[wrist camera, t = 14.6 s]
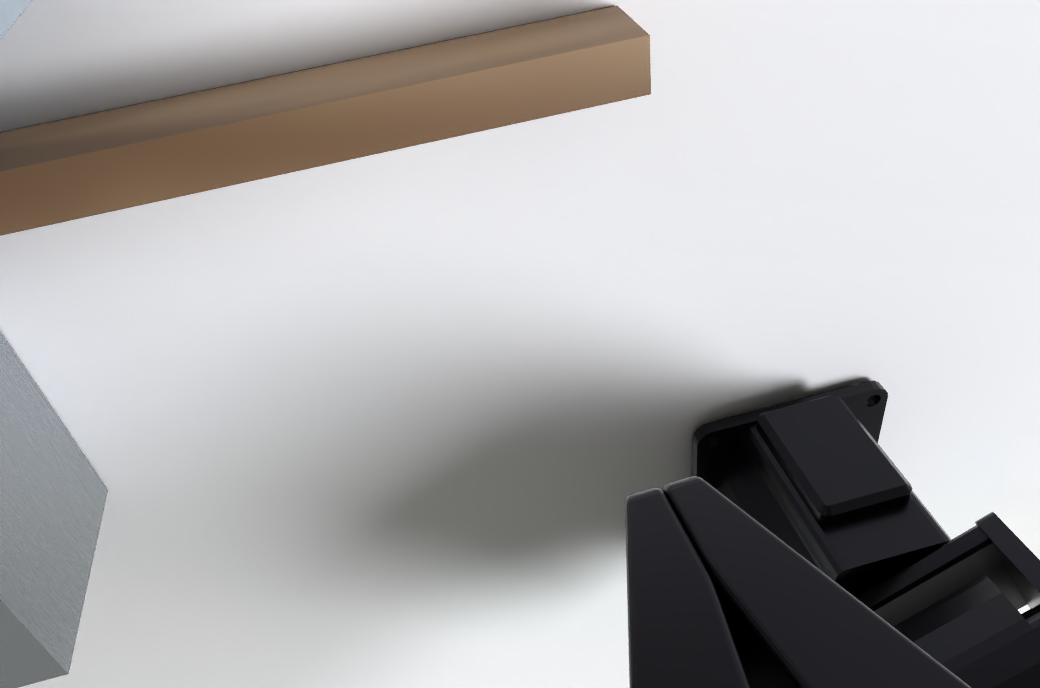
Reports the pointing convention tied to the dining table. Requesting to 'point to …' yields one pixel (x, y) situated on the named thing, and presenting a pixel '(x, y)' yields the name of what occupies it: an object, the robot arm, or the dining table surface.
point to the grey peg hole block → (41, 530)
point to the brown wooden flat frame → (317, 117)
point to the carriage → (10, 13)
